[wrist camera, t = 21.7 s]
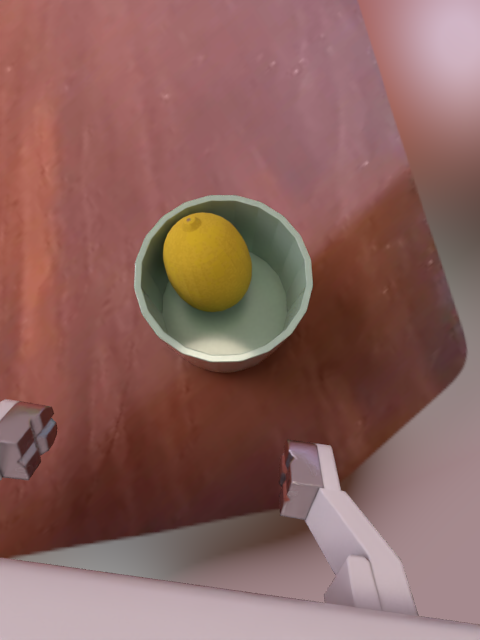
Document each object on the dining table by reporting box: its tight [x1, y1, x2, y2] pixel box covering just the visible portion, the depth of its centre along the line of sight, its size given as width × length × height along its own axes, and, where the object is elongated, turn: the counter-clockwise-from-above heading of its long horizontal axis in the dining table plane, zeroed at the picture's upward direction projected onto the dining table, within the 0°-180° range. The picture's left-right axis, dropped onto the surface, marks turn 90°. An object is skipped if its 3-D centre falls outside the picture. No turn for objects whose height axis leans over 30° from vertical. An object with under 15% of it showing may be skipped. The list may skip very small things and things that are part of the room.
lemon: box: [163, 212, 252, 312], centre depth 21 cm, size 6×6×8 cm
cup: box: [134, 195, 313, 372], centre depth 22 cm, size 10×10×7 cm
